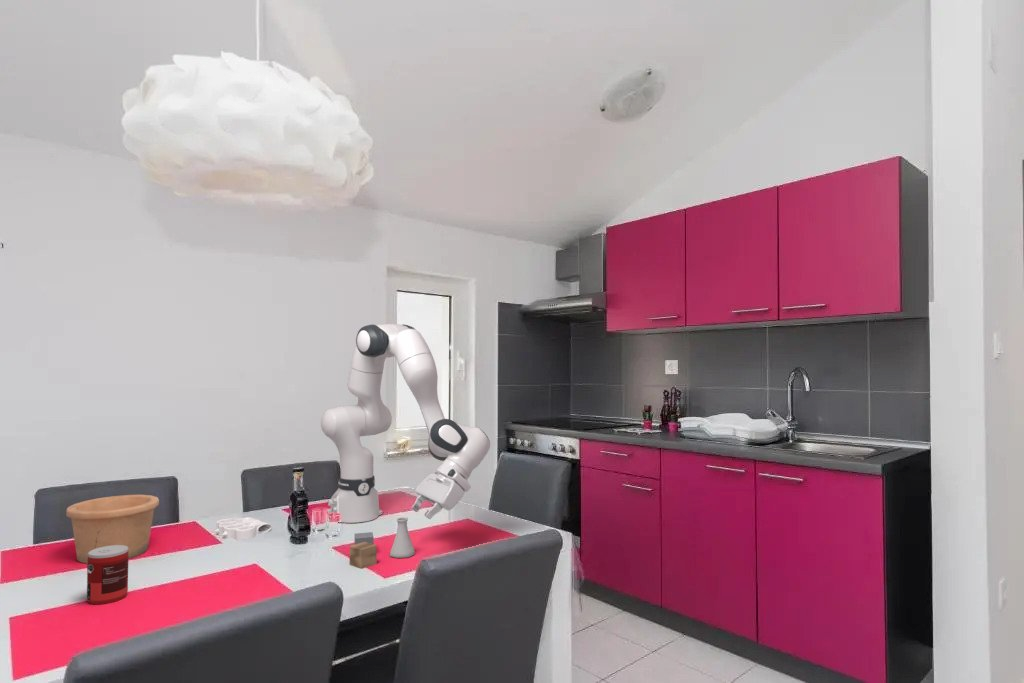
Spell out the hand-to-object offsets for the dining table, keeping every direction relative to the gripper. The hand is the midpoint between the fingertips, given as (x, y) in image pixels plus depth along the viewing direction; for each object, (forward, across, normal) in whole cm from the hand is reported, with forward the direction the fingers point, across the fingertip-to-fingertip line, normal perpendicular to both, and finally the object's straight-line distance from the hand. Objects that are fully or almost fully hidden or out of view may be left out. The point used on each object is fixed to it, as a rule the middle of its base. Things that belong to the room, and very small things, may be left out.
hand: (420, 513), depth 170 cm
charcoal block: (+18, -7, -2) cm, 19 cm away
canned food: (+60, -7, -45) cm, 75 cm away
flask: (+12, 0, +4) cm, 12 cm away
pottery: (+60, -44, -45) cm, 87 cm away
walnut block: (+20, +2, -5) cm, 20 cm away
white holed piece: (+37, -48, -21) cm, 64 cm away
